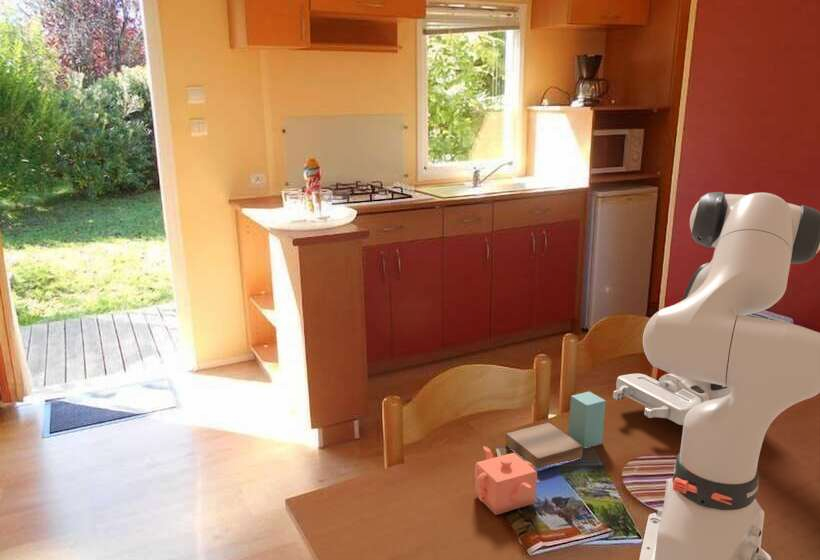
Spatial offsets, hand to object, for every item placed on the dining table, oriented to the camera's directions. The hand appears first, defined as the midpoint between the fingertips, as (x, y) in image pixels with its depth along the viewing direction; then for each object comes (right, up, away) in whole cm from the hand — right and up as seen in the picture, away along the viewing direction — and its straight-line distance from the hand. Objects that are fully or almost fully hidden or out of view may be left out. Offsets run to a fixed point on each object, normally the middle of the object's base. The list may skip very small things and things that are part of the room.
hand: (630, 404), depth 141 cm
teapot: (-31, -13, -25) cm, 42 cm away
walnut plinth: (-21, -8, -8) cm, 24 cm away
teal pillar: (-11, -7, -4) cm, 14 cm away
